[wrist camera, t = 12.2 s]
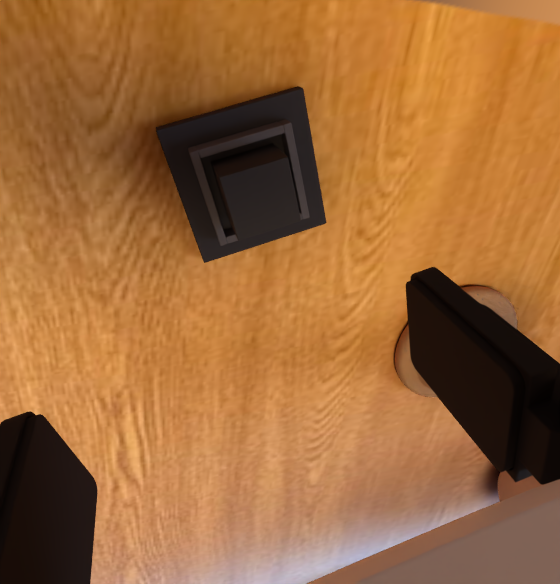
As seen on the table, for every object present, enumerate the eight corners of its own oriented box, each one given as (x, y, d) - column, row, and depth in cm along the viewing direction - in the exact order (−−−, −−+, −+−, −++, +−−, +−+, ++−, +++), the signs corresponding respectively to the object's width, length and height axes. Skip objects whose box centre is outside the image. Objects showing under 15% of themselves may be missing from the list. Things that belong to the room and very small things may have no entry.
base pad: (155, 127, 26) (156, 134, 24) (298, 86, 27) (309, 90, 25) (202, 256, 31) (206, 271, 29) (321, 218, 32) (332, 230, 30)
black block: (210, 161, 27) (218, 177, 24) (272, 142, 27) (287, 156, 24) (228, 220, 29) (238, 241, 26) (285, 202, 29) (301, 221, 26)
